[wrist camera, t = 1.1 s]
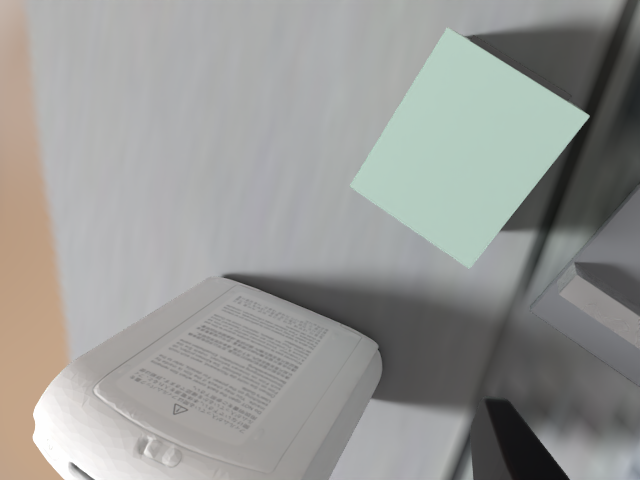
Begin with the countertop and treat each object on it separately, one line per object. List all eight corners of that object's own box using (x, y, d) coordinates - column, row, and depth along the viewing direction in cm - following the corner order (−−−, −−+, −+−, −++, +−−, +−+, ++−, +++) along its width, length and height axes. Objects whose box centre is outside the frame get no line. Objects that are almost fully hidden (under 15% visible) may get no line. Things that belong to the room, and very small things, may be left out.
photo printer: (194, 332, 30) (-5, 485, 19) (206, 262, 28) (-3, 384, 17) (371, 409, 27) (261, 639, 16) (395, 336, 26) (292, 536, 15)
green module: (580, 101, 21) (594, 110, 16) (481, 230, 23) (469, 268, 19) (467, 31, 21) (451, 21, 17) (383, 164, 24) (349, 186, 19)
